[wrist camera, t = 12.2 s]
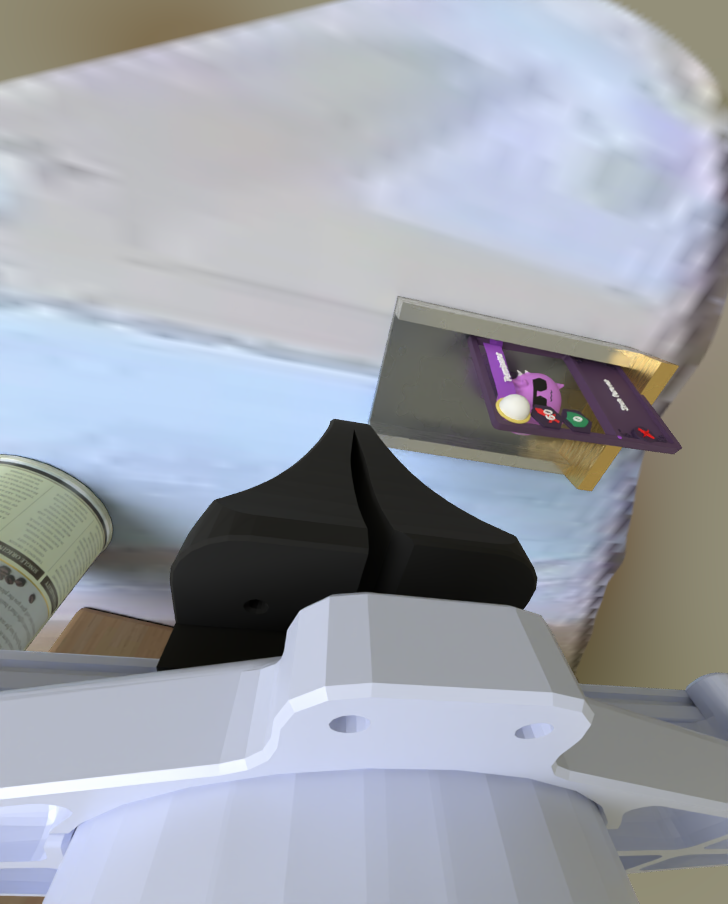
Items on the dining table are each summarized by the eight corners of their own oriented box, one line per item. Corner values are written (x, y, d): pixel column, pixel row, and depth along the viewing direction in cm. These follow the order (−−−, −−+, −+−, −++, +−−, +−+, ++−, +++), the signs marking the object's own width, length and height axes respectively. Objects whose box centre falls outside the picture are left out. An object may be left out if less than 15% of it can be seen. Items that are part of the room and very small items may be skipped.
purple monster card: (699, 439, 15) (506, 410, 14) (611, 499, 19) (456, 481, 18) (626, 348, 19) (474, 320, 18) (568, 413, 23) (440, 394, 22)
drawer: (561, 459, 24) (591, 491, 21) (366, 428, 22) (369, 458, 19) (629, 346, 20) (678, 366, 17) (397, 296, 18) (407, 307, 15)
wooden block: (173, 678, 38) (30, 1039, 21) (71, 658, 35) (-192, 1058, 18) (196, 630, 33) (36, 1042, 16) (80, 604, 30) (-259, 1070, 13)
